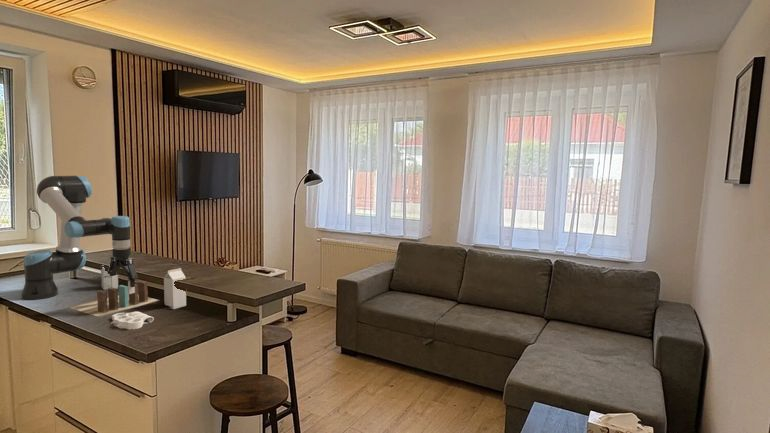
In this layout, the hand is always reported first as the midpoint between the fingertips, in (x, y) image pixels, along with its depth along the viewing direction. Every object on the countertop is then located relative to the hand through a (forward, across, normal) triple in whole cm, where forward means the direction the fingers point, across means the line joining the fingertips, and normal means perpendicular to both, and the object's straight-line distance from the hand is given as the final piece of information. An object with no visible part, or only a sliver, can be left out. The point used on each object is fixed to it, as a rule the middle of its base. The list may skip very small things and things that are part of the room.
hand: (123, 291), depth 214 cm
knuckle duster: (+9, +22, -10) cm, 26 cm away
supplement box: (+10, -42, +18) cm, 46 cm away
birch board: (+9, -7, 0) cm, 11 cm away
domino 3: (+8, 0, 0) cm, 8 cm away
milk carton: (+9, +18, +15) cm, 25 cm away
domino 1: (+8, 0, -10) cm, 13 cm away
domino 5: (+8, 0, +10) cm, 13 cm away
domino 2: (+8, 0, -5) cm, 9 cm away
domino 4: (+8, 0, +5) cm, 9 cm away
